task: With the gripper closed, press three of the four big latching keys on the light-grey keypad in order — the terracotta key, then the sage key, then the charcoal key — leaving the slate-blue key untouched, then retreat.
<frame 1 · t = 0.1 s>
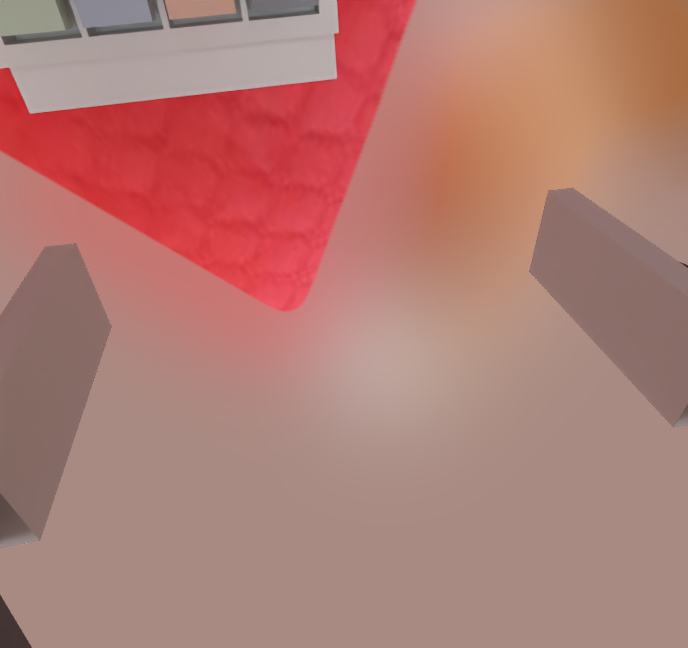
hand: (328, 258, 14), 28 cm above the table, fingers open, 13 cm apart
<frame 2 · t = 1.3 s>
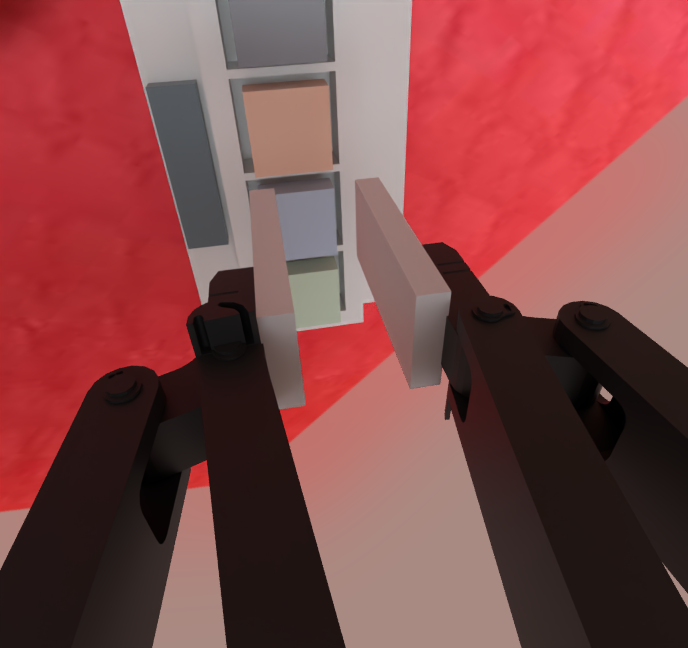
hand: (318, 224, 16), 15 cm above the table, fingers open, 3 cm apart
key terracotta: (288, 126, 24), point 3 cm above the table, slide at 0.0 cm
keypad: (288, 155, 28), on the table
key slate: (297, 217, 27), point 3 cm above the table, slide at 0.0 cm
key charcoal: (276, 9, 21), point 3 cm above the table, slide at 0.0 cm
key sage: (305, 290, 31), point 3 cm above the table, slide at 0.0 cm
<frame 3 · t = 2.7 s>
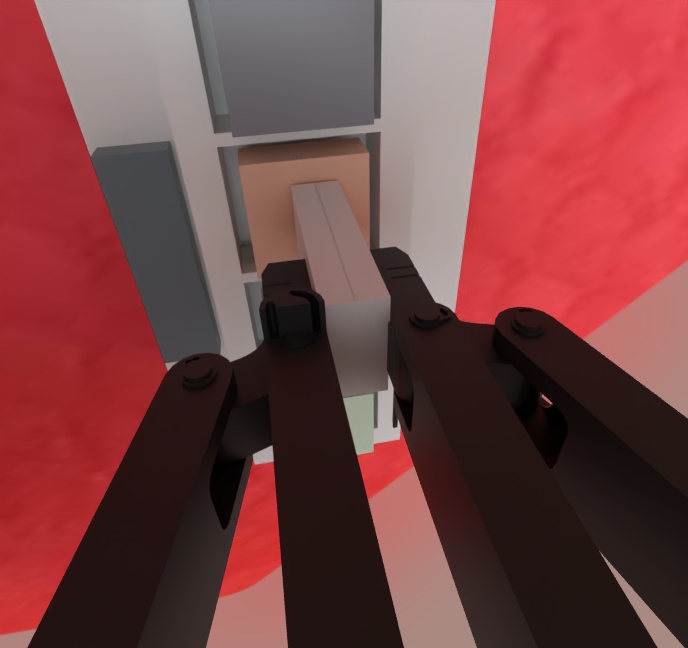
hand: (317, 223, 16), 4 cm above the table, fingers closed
key terracotta: (305, 204, 17), point 3 cm above the table, slide at 0.6 cm, touching gripper
keypad: (303, 235, 20), on the table
key slate: (318, 327, 19), point 3 cm above the table, slide at 0.0 cm
key charcoal: (292, 42, 13), point 3 cm above the table, slide at 0.0 cm
key sage: (325, 411, 22), point 3 cm above the table, slide at 0.0 cm
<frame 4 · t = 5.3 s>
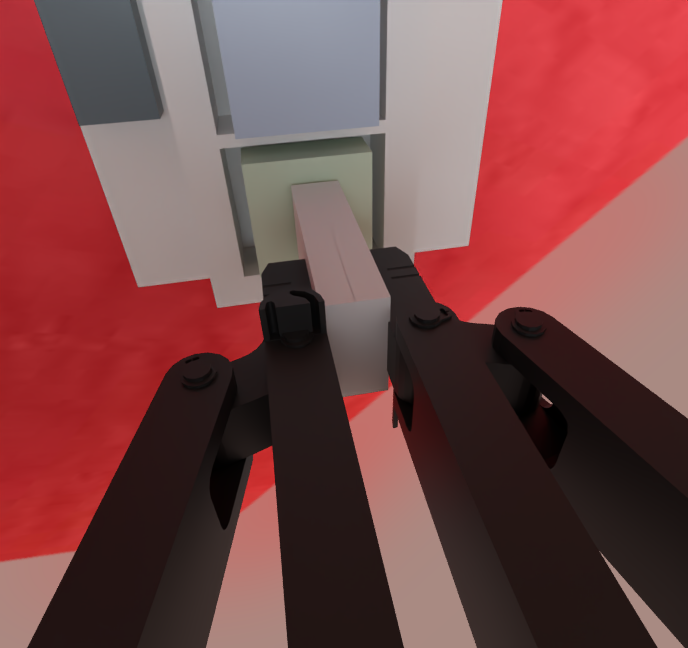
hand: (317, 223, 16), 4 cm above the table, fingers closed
key slate: (296, 42, 13), point 3 cm above the table, slide at 0.0 cm
key sage: (308, 203, 17), point 2 cm above the table, slide at 0.9 cm, touching gripper
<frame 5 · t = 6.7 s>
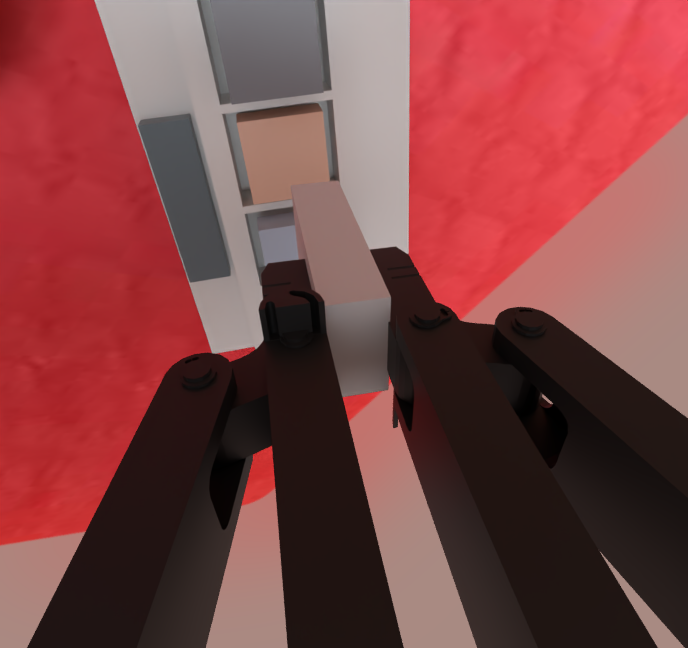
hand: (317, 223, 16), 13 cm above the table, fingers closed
key terracotta: (284, 151, 24), point 2 cm above the table, slide at 1.0 cm
keypad: (288, 183, 28), on the table
key slate: (299, 247, 27), point 3 cm above the table, slide at 0.0 cm
key charcoal: (268, 41, 21), point 3 cm above the table, slide at 0.0 cm
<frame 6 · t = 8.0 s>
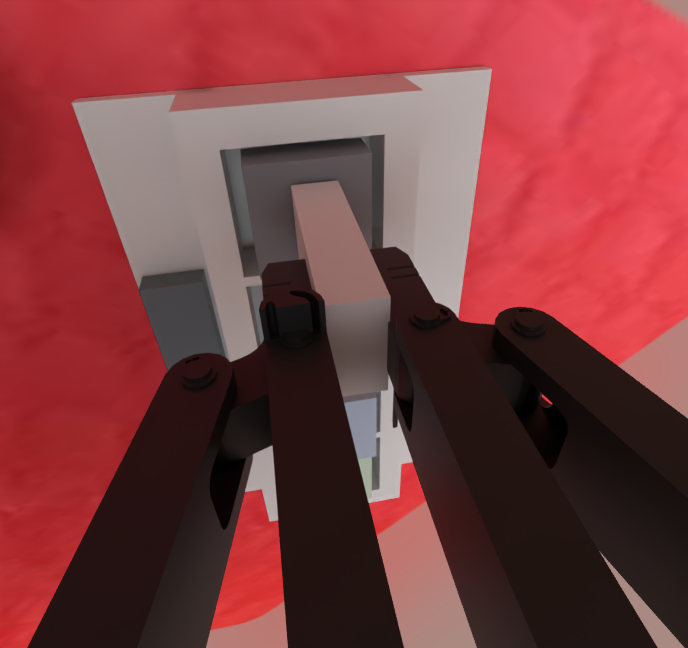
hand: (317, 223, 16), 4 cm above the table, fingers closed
keypad: (315, 331, 23), on the table
key slate: (328, 415, 22), point 3 cm above the table, slide at 0.0 cm
key charcoal: (307, 204, 17), point 2 cm above the table, slide at 0.8 cm, touching gripper
key sage: (330, 463, 26), point 2 cm above the table, slide at 1.0 cm
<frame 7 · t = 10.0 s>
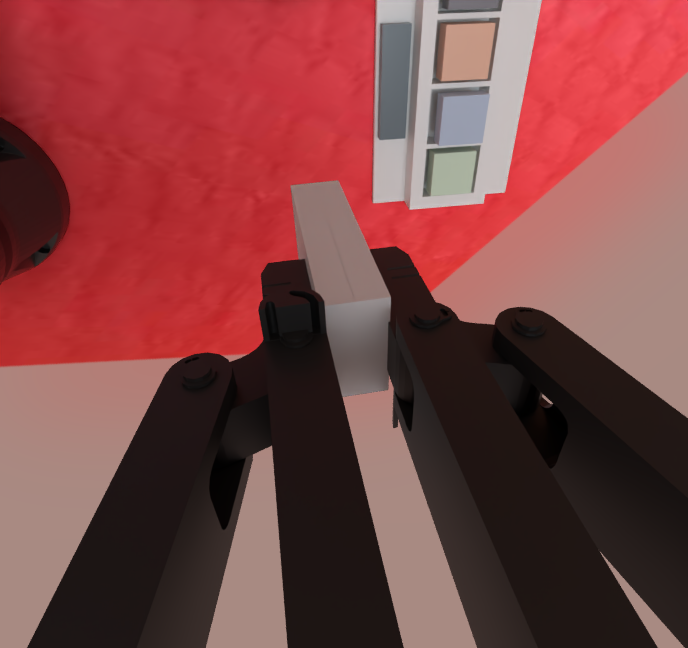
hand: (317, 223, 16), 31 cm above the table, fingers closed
key terracotta: (462, 50, 40), point 2 cm above the table, slide at 1.0 cm
keypad: (450, 78, 43), on the table
key slate: (458, 117, 42), point 3 cm above the table, slide at 0.0 cm
key sage: (448, 169, 46), point 2 cm above the table, slide at 1.0 cm
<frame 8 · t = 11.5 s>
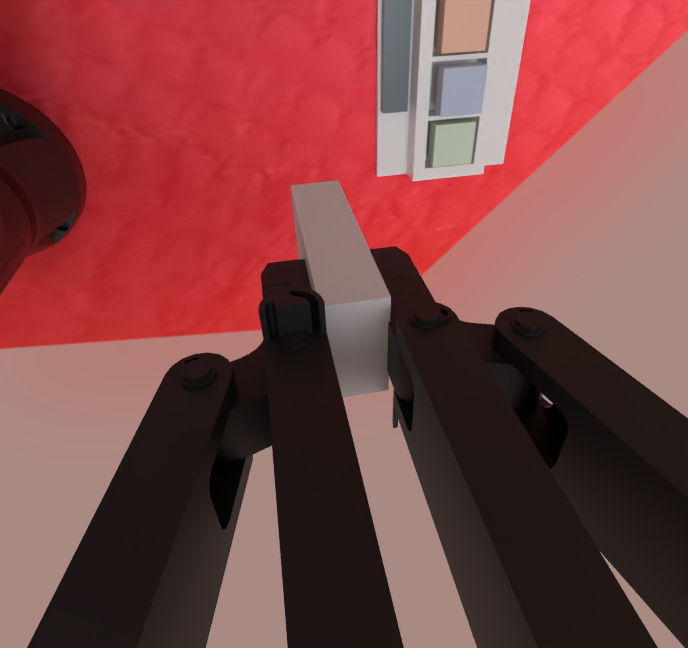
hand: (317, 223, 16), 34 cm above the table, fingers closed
key terracotta: (460, 23, 42), point 2 cm above the table, slide at 1.0 cm
keypad: (449, 52, 45), on the table
key slate: (458, 88, 44), point 3 cm above the table, slide at 0.0 cm
key sage: (449, 141, 48), point 2 cm above the table, slide at 1.0 cm
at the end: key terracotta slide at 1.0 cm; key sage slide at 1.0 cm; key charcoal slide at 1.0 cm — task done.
